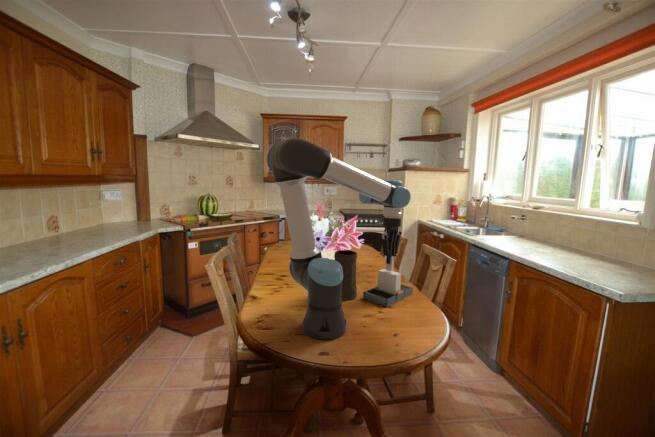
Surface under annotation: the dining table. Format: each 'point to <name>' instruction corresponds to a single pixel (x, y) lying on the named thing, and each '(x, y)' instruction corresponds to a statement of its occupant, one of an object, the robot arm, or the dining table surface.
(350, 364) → the dining table surface
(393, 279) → the white rectangular block
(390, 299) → the dark grey compartment tray
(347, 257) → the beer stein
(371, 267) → the dining table surface
